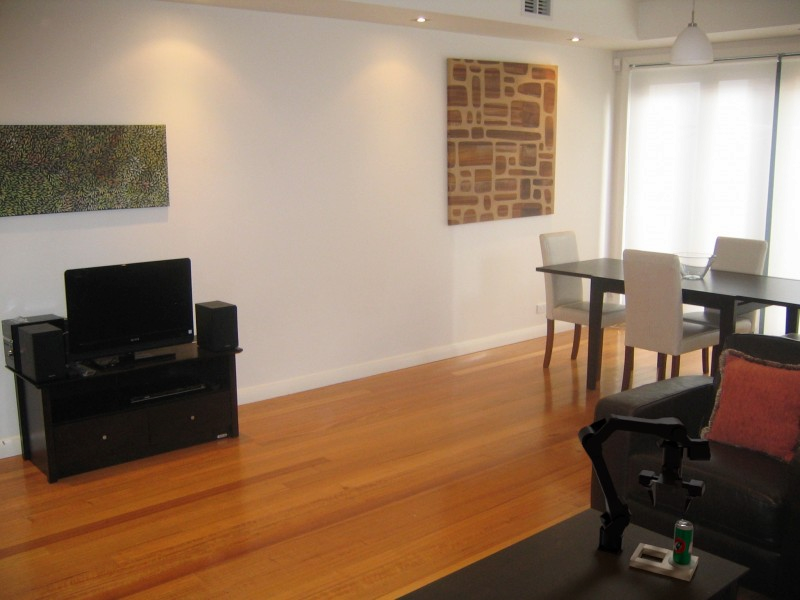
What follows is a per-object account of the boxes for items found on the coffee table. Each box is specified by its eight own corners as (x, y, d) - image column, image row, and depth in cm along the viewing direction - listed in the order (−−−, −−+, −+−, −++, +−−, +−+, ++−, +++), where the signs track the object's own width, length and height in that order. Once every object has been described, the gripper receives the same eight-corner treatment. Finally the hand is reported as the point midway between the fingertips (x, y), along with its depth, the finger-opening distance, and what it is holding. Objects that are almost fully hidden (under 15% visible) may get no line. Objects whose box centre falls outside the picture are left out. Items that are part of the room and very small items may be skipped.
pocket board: (629, 565, 237) (629, 558, 236) (639, 548, 247) (640, 541, 247) (690, 581, 228) (691, 574, 228) (699, 563, 238) (699, 556, 238)
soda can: (692, 566, 232) (695, 527, 230) (673, 564, 233) (676, 526, 231) (689, 558, 237) (692, 520, 235) (671, 556, 238) (674, 518, 236)
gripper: (634, 463, 239) (631, 512, 242) (700, 476, 230) (696, 527, 233) (643, 451, 249) (640, 498, 252) (707, 463, 240) (703, 512, 242)
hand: (669, 509), depth 244 cm, fingers open, 9 cm apart
